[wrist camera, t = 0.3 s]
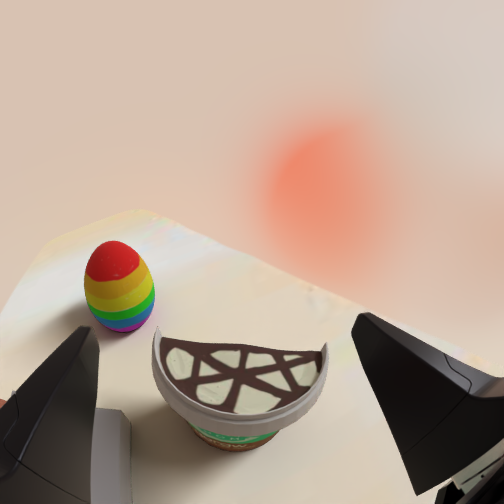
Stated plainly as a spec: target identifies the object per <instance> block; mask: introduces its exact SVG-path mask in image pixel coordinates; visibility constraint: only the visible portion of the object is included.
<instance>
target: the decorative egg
mask: <svg viewBox="0 0 504 504" xmlns="http://www.w3.org/2000/svg"><path fill="white" fill-rule="evenodd" d="M84 289H85V296H86V300H87V303H88V306H89V308H90V310H91V312H92V313H93V315H94V316H95V318H96V319H97V320H98V321H99V322H100V323H101V324H103V325H104V326H106V327H107V328H109V329H111V330H114V331H118V332H128V331H132V330H135V329H137V328H139V327H140V326H141V325H143V324H144V323H145V322H146V320H147V319H148V318H149V316H150V314H151V312H152V309H153V306H154V299H155V290H154V283H153V280H152V276H151V274H150V271H149V269H148V267H147V265H146V264H145V262H144V260H143V259H142V258H141V257H140V255H139V254H138V253H137V252H136V251H135V250H133V249H132V248H131V247H129V246H128V245H126V244H124V243H122V242H119V241H108V242H105V243H103V244H101V245H100V246H98V247H97V248H96V250H95V251H94V252H93V254H92V255H91V257H90V259H89V261H88V263H87V266H86V270H85V276H84Z"/></svg>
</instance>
